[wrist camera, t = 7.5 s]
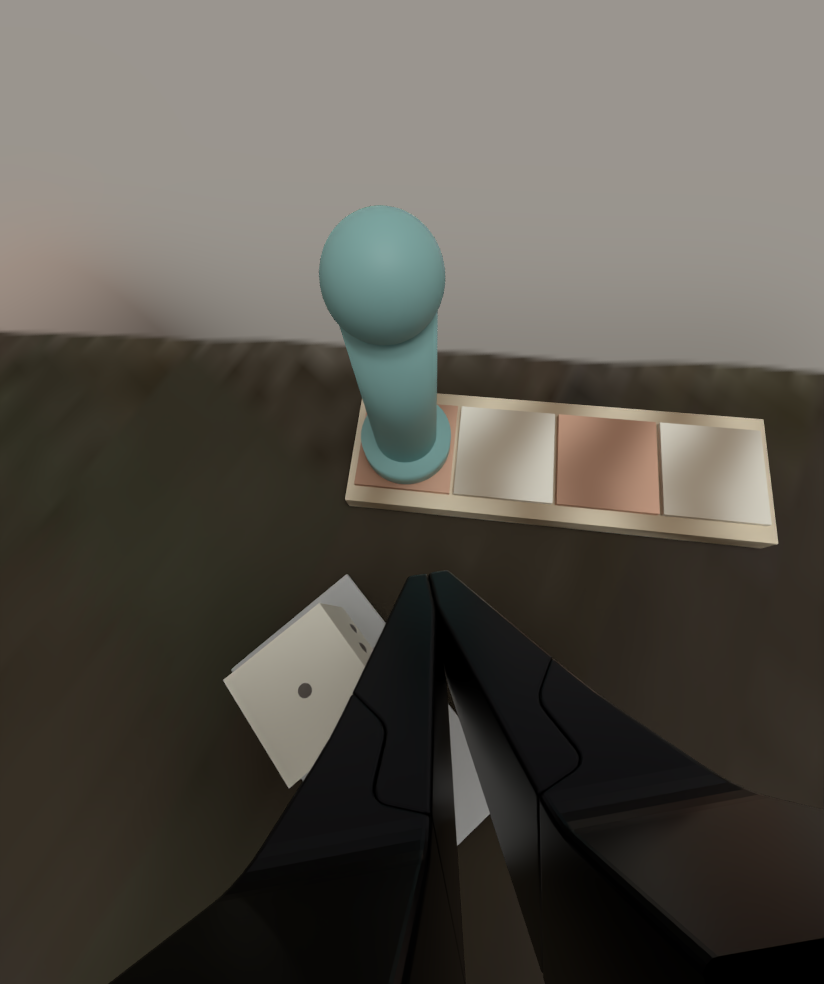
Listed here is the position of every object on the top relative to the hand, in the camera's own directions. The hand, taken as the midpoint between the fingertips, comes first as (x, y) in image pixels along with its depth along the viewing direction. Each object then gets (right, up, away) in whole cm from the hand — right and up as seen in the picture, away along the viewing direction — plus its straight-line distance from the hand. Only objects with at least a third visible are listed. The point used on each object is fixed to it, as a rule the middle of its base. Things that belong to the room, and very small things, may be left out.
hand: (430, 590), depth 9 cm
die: (-4, -7, +11) cm, 14 cm away
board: (+7, +3, +14) cm, 16 cm away
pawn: (-1, +4, +13) cm, 14 cm away
